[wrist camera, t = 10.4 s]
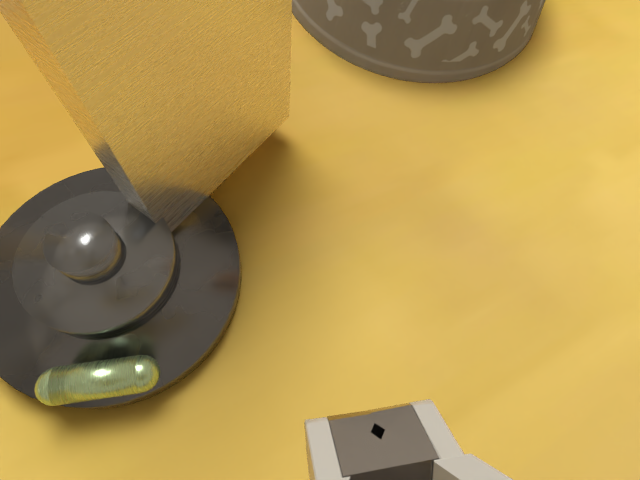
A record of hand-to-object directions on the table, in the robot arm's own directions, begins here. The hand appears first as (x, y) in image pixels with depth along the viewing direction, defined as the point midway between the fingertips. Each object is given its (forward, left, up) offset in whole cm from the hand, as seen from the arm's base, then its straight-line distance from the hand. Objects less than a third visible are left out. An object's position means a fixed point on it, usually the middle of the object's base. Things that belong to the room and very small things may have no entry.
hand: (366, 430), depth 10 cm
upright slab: (-5, +11, -7) cm, 14 cm away
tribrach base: (-8, +8, -8) cm, 14 cm away
